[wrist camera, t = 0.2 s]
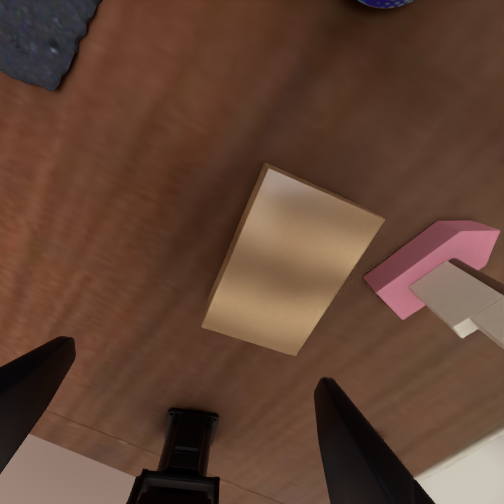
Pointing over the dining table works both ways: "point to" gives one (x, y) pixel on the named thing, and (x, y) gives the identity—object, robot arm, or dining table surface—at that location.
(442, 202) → the dining table surface
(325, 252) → the wood block
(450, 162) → the dining table surface
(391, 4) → the beer can
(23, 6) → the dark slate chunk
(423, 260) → the toy boat
